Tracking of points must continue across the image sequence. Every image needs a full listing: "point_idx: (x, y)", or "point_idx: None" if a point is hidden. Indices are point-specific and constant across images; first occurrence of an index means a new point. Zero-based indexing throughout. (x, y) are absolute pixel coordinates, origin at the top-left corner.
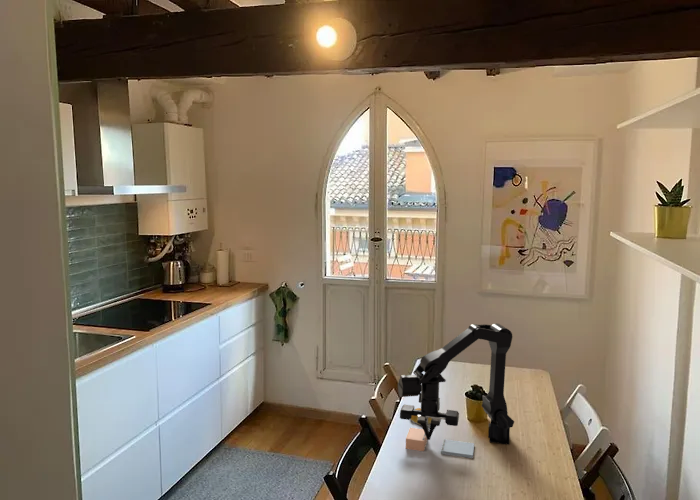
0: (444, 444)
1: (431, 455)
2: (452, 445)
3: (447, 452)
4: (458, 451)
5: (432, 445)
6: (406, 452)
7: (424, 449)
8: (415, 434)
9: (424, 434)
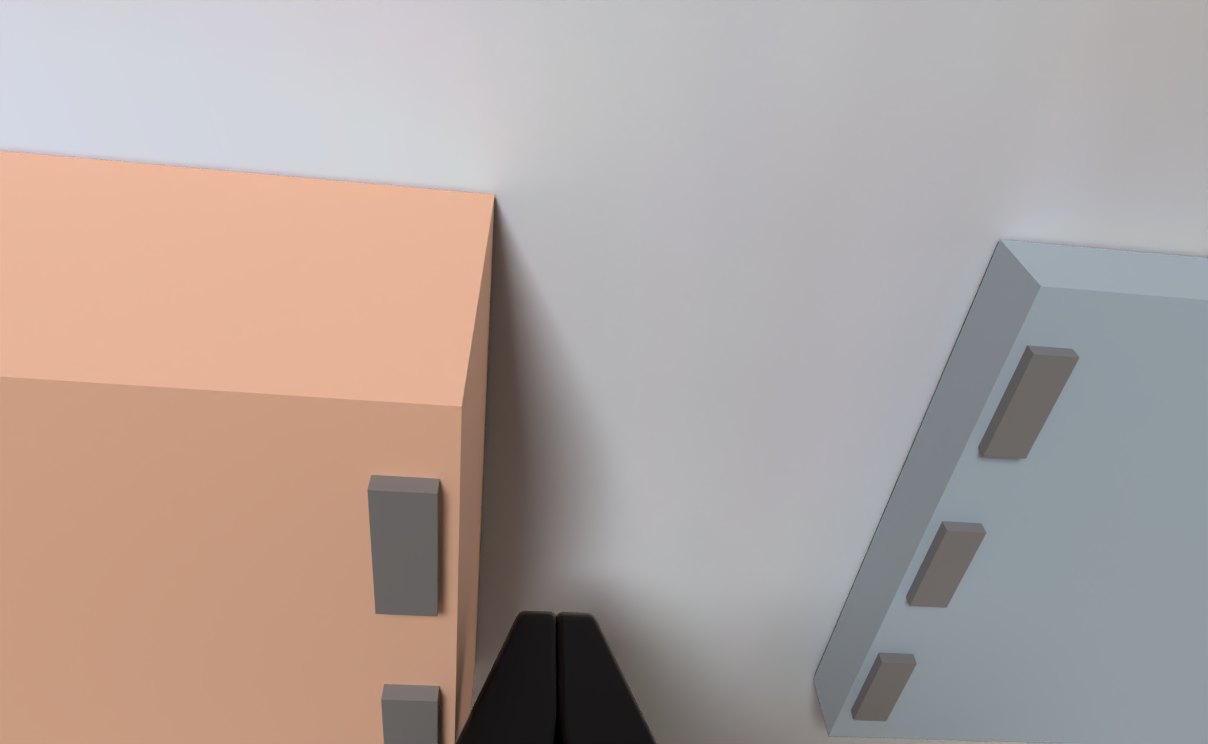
0: (969, 563)
1: None
2: (1168, 542)
3: (950, 727)
4: (1194, 703)
5: (653, 450)
6: None
7: (476, 625)
8: (91, 736)
9: (396, 729)
